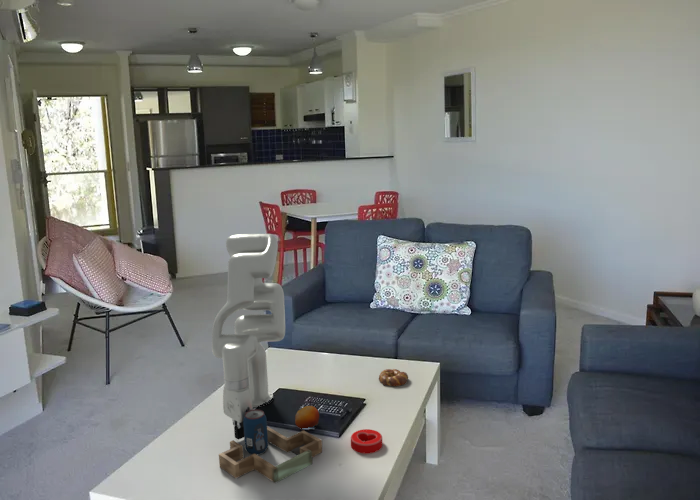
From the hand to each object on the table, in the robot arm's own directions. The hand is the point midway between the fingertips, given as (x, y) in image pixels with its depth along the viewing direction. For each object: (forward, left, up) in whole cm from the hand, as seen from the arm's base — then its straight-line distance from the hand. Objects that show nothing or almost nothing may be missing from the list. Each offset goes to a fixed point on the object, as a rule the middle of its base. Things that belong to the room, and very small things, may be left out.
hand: (240, 437), depth 193 cm
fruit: (+8, +20, -1) cm, 22 cm away
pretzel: (+4, +66, -2) cm, 66 cm away
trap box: (+15, 0, -1) cm, 16 cm away
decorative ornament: (+30, +25, -2) cm, 39 cm away
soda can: (+8, 0, -1) cm, 9 cm away
